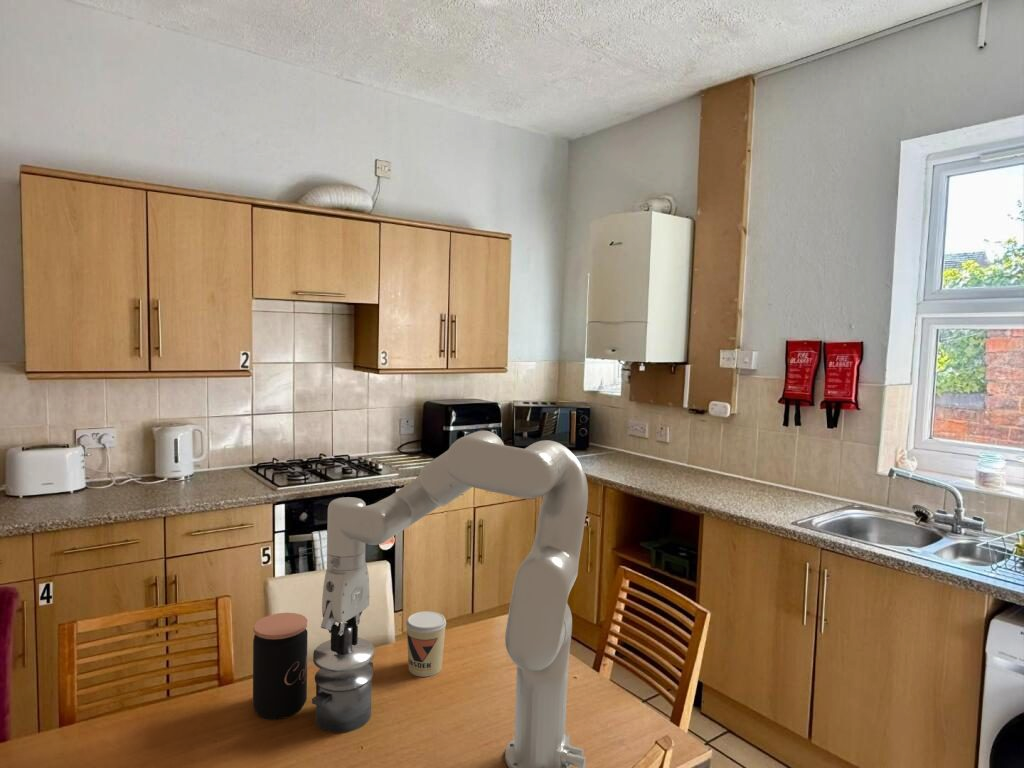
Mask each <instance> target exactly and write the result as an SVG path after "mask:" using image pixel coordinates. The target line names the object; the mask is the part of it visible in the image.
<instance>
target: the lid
mask: <svg viewBox="0 0 1024 768" xmlns="http://www.w3.org/2000/svg"><path fill="white" fill-rule="evenodd" d="M337 626H339V624H338V625H337ZM352 633H353V626H352V625H351V624H344V634H346V643H345V653H343V654H341V653H337V652H333V651H331V639H329V640H326V641H323V642H322V643H320V644H318V645H317V647H315V649H314V651H313V653H312V655H313V658H312V659H313V664H314V665H315V666H316V667H317V668H318V669H323V670H326V671H331V672H345V671H351V670H355V669H358V668H361V667H363V666H365V665H367V664H368V663H369V662H372V660H373V659H374V657H375V646H374V644H373V643H372V642H370V641H369V640H367V639H364V638H362V637H358V641H357V644H356V645H352Z"/></svg>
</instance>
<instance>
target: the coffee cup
mask: <svg viewBox="0 0 1024 768" xmlns="http://www.w3.org/2000/svg"><path fill="white" fill-rule="evenodd" d="M405 625H406V637H407V638H406V640H407V656H408V657H407V659H408V660H407V661H408V671H409V672H410V673H411V675H413V676H416V677H426V678H427V677H431V676H435V675H437V674H438V673H440V672H441V669H442V666H443V658H444V657H443V656H444V647H445V636H446V626H447V620H446V618H445V616H444V615H443V614H442V613H440V612H436V611H430V610H429V611H427V610H426V611H418V612H415V613H413V614H411V615H409V616H408V618H407V620H406V622H405Z"/></svg>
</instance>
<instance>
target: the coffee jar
mask: <svg viewBox="0 0 1024 768" xmlns="http://www.w3.org/2000/svg"><path fill="white" fill-rule="evenodd" d="M307 627H308V618H307V617H306V616H305V615H302V614H300V613H296V612H280V613H279V612H278V613H273V614H269V615H267V616H264V617H262V618H259V619H258V620H257V621H256V622H255V623H254V625H253V629H252V630H253V632H254V636H253V641H252V653H253V654H252V708H253V710H254V712H255V713H256V714H257V715H258V716H259V717H260V718H262V719H266V720H276V721H277V720H283V719H287V718H290V717H291V716H293V715H295V714H297V713H298V712H300V711H301V710H302V708H303V707H304V705H305V703H307V699H308V698H307V697H308V695H307V694H308V630H307Z"/></svg>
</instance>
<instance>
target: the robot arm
mask: <svg viewBox="0 0 1024 768" xmlns="http://www.w3.org/2000/svg"><path fill="white" fill-rule="evenodd" d="M588 486H589V485H588V480H587V477H586V473H585V470H584V467H583V465H582V464H581V462H580V460H579V459H578V458H577V456H576V455H575V454H574V453H573V452H572V451H571V450H570V449H569V448H568V447H566V446H564V445H563V444H562V443H560V442H558V441H554V440H548V439H547V440H539V441H536V442H533V443H532V444H530V445H528V446H527V447H525V448H521V447H516V446H511V445H510V446H509V445H506V444H504V441H503V440H502V439H501V437H499V435H497V434H496V433H494V432H492V431H489V430H477V431H474V432H472V433H469V434H467V435H465V436H462V437H460V438H458V439H456V440H455V441H454V442H453V443H452V444H451V445H450V446H449V448H448V449H447V450H446V451H444V452H443V453H442V454H440V455H439V456H437V457H435V458H433V460H431V461H429V462H428V463H427V464H425V465H423V467H421V468H420V471H419V474H418V475H417V477H415V478H414V479H413V480H411V481H410V482H409V483H407V484H406V485H404V486H403V487H401V488H400V489H398V490H397V491H395V492H393V493H392V494H391V495H389V496H387V497H385V498H383V499H381V500H378V501H377V502H375V503H372V504H369V505H366V504H367V503H366V502H365V501H364V500H363V499H362V498H358V497H351V496H350V497H349V496H347V497H344V496H343V497H337V498H335V499H333V500H331V501H330V502H329V504H328V507H327V531H326V532H327V534H326V536H327V537H326V538H327V539H326V544H327V545H326V570H325V575H324V580H323V588H322V597H321V598H322V601H321V613H322V618H323V619H322V621H321V625H320V628H321V629H324V630H327V631H328V633H329V634H330V640H331V651H333V652H337V653H341V654H343V653H345V643H346V634H344V624H351V625H352V626H353V633H352V645H356V644H357V641H358V638H359V637H358V636H359V635H358V634H359V629H358V628H359V624H360V622H361V615H362V614H363V612H364V611H365V610H366V609H367V608H368V607H369V606H370V592H371V591H370V575H369V569H368V564H367V562H366V544H367V545H370V546H377V545H382V544H384V543H385V542H387V541H388V540H390V539H392V538H393V537H395V536H396V535H398V534H399V533H401V532H403V531H404V530H406V529H407V528H409V527H410V526H412V525H413V524H415V523H416V522H418V521H419V520H421V519H422V518H424V517H426V516H427V515H428V514H430V513H431V512H433V511H435V510H436V509H438V508H440V507H445V506H446V505H448V504H450V503H451V502H453V501H454V500H456V499H457V498H459V497H460V496H461V495H463V494H465V493H466V492H468V491H469V490H471V489H473V488H474V489H478V490H482V491H483V490H484V491H487V492H491V493H495V494H501V495H505V496H510V497H515V498H520V499H528V500H529V499H537V498H540V497H542V501H541V505H540V508H539V512H538V517H537V524H536V525H537V526H536V531H535V536H534V540H533V543H532V544H533V545H532V547H531V550H530V551H529V553H528V554H527V555H526V556H525V558H524V559H523V561H522V562H521V564H520V565H519V567H518V569H517V571H516V573H515V578H514V581H513V584H512V585H513V586H512V592H511V597H510V602H509V608H508V609H509V610H508V614H507V620H506V621H507V622H506V628H505V634H504V635H505V637H504V642H505V643H504V645H505V648H506V651H507V654H508V656H509V658H510V659H511V661H512V662H513V663H514V664H515V665H516V679H515V680H516V683H515V707H514V731H513V732H514V733H513V734H514V735H513V736H514V737H513V739H512V740H511V741H510V742H509V743H508V744H507V746H506V747H505V752H504V753H505V755H504V759H505V764H506V765H507V767H508V768H572V766H574V767H577V768H586V764H587V757H586V756H583V755H584V752H585V751H584V748H581V747H577V746H574V745H572V744H571V743H570V739H571V737H570V734H566V722H567V702H568V701H567V699H568V698H567V695H568V681H569V680H568V679H569V663H570V662H569V661H570V660H569V659H570V648H571V641H572V631H573V616H572V611H571V608H570V606H569V604H568V599H569V596H570V592H571V591H572V589H573V586H574V584H575V582H576V579H577V577H578V574H579V565H580V564H579V562H580V558H581V557H580V556H581V549H582V545H583V544H582V543H583V540H584V539H583V538H584V530H585V522H586V516H587V512H588V502H589V487H588ZM336 623H338V625H339V626H338V625H337V624H336Z"/></svg>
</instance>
